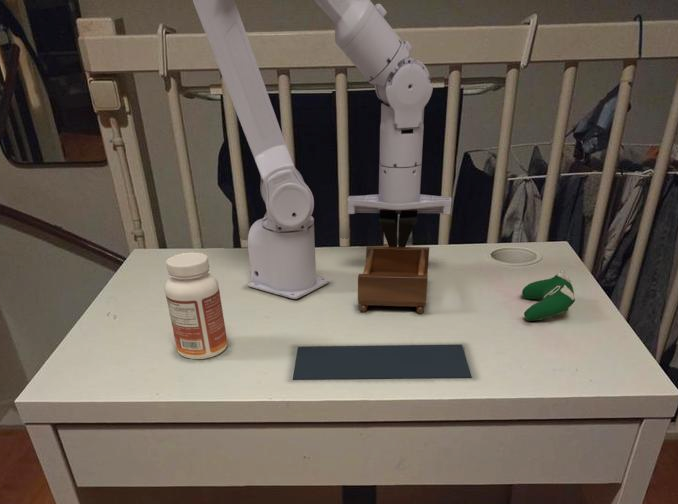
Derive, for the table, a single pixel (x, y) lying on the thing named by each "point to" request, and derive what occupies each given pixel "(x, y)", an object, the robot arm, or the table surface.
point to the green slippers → (549, 297)
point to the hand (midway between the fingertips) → (396, 263)
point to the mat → (381, 362)
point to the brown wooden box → (394, 277)
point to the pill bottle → (195, 306)
